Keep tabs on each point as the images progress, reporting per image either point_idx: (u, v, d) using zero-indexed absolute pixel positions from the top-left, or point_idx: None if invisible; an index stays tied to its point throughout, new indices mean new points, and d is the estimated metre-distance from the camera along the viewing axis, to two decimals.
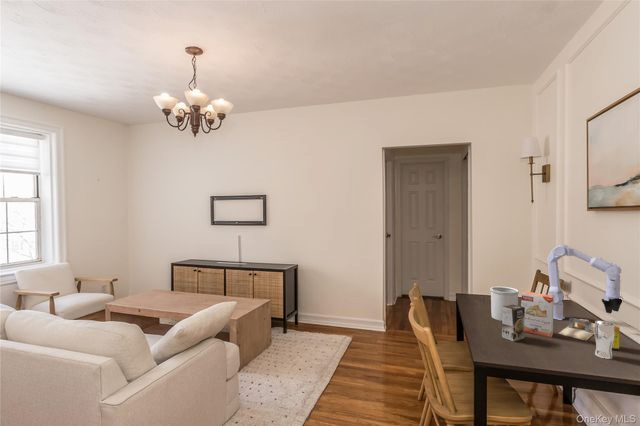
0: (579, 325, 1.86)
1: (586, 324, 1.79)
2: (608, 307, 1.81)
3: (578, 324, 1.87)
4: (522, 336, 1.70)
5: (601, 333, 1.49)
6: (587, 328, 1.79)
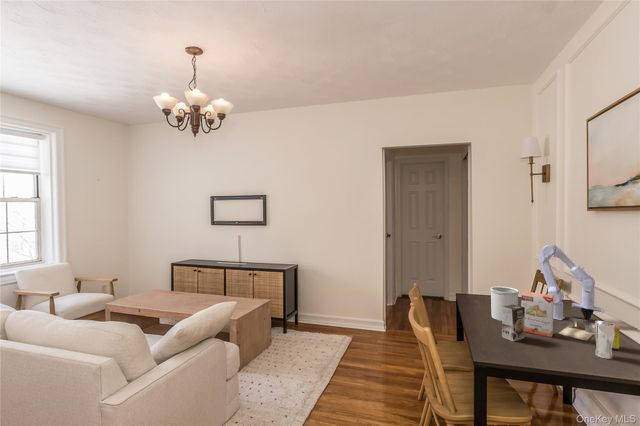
0: (578, 325, 1.85)
1: (586, 324, 1.79)
2: None
3: (577, 324, 1.86)
4: (522, 336, 1.70)
5: (601, 333, 1.49)
6: (587, 328, 1.79)
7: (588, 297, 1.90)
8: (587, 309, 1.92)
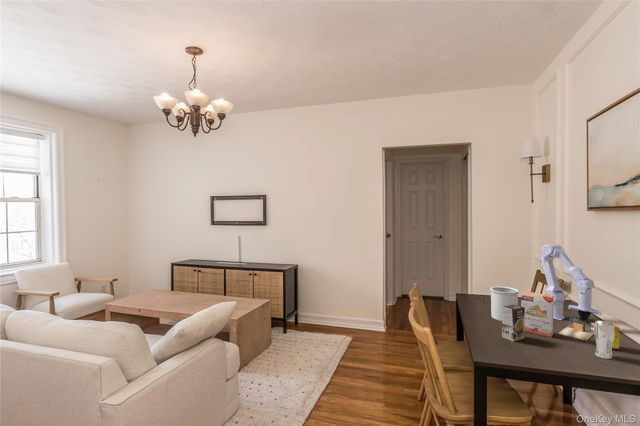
0: (575, 328, 1.82)
1: (586, 324, 1.79)
2: None
3: (574, 327, 1.82)
4: (522, 336, 1.70)
5: (601, 333, 1.49)
6: (587, 328, 1.79)
7: (582, 298, 1.87)
8: (584, 311, 1.88)
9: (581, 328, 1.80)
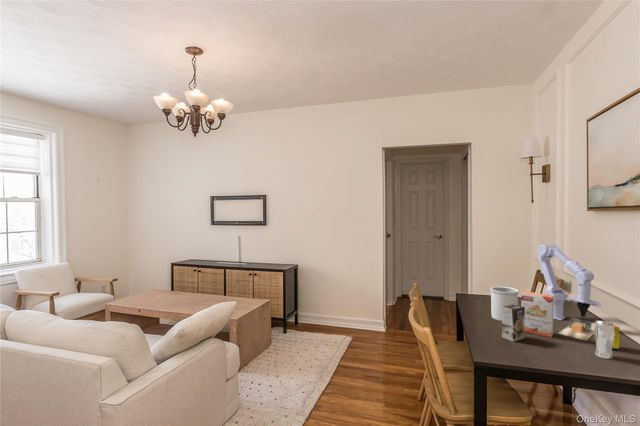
0: (574, 329, 1.80)
1: (586, 324, 1.79)
2: None
3: (573, 328, 1.80)
4: (522, 336, 1.70)
5: (601, 333, 1.49)
6: (587, 328, 1.79)
7: (581, 290, 1.86)
8: (583, 303, 1.87)
9: (580, 329, 1.78)
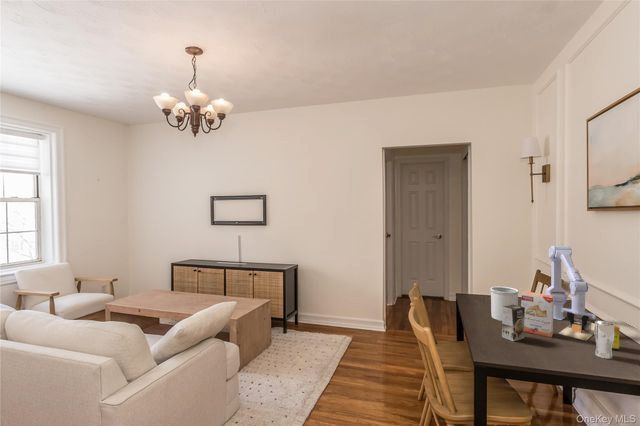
0: (574, 329, 1.80)
1: (586, 324, 1.79)
2: None
3: (573, 328, 1.80)
4: (522, 336, 1.70)
5: (601, 333, 1.49)
6: (587, 328, 1.79)
7: (573, 300, 1.80)
8: (573, 314, 1.82)
9: (579, 329, 1.78)
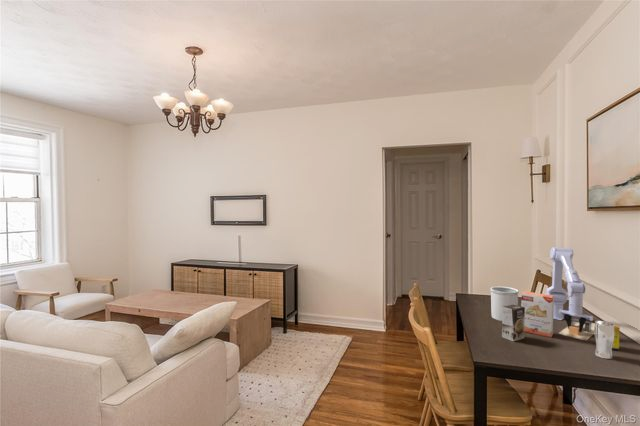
0: (571, 331, 1.77)
1: (586, 324, 1.79)
2: None
3: (570, 330, 1.77)
4: (522, 336, 1.70)
5: (601, 333, 1.49)
6: (587, 328, 1.79)
7: (569, 302, 1.77)
8: (570, 315, 1.79)
9: (577, 331, 1.75)
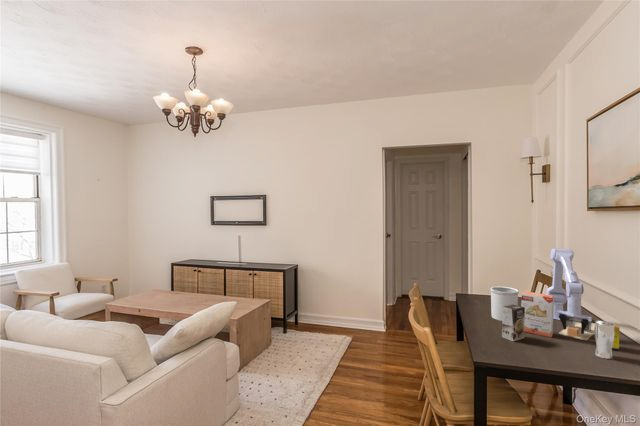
0: (569, 333, 1.75)
1: None
2: None
3: (568, 331, 1.75)
4: (522, 336, 1.70)
5: (601, 333, 1.49)
6: (587, 328, 1.79)
7: (568, 302, 1.76)
8: (565, 315, 1.78)
9: (575, 333, 1.73)
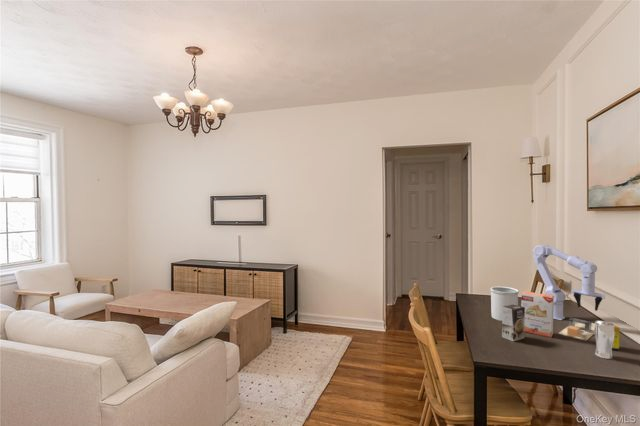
0: (569, 333, 1.75)
1: (586, 324, 1.79)
2: None
3: (568, 331, 1.75)
4: (522, 336, 1.70)
5: (601, 333, 1.49)
6: (587, 328, 1.79)
7: (586, 283, 1.86)
8: (580, 294, 1.91)
9: (575, 333, 1.73)
